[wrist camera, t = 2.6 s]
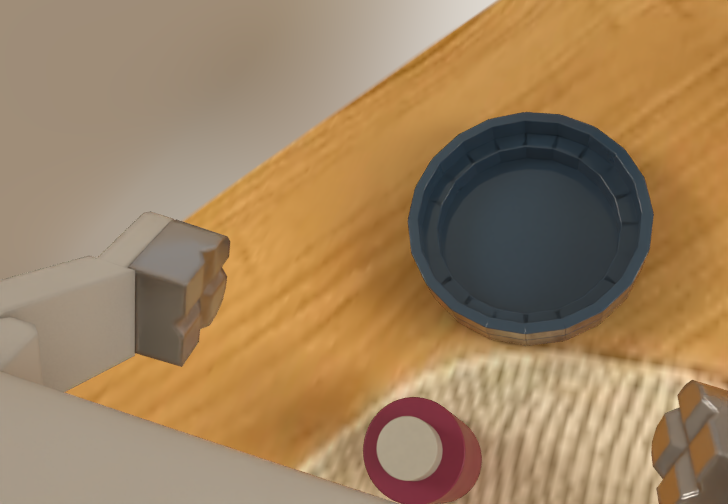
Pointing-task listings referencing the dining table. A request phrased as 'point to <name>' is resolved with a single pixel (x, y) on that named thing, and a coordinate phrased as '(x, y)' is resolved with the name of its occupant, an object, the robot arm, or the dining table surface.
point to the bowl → (531, 227)
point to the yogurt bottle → (421, 453)
